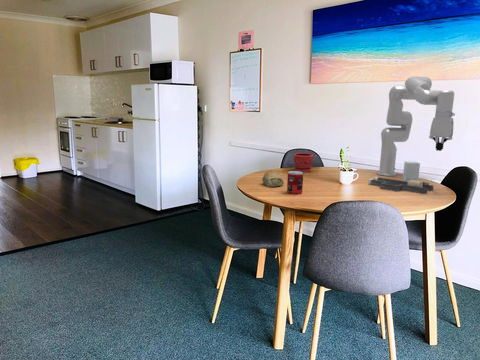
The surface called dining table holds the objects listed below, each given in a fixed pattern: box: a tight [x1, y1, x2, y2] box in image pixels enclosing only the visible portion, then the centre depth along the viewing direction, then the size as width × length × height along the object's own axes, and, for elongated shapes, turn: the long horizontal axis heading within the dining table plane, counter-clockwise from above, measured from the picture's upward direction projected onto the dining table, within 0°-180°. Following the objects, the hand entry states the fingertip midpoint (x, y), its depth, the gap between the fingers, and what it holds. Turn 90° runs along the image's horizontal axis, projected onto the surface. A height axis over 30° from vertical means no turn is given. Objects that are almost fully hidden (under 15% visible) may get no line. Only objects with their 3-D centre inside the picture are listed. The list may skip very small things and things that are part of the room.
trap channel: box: [368, 176, 434, 195], centre depth 213 cm, size 22×32×3 cm
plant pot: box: [293, 152, 314, 173], centre depth 259 cm, size 13×13×12 cm
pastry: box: [262, 170, 285, 188], centre depth 214 cm, size 14×12×8 cm
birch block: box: [407, 180, 424, 187], centre depth 207 cm, size 6×6×5 cm
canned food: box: [286, 170, 304, 195], centre depth 195 cm, size 8×8×11 cm
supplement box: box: [402, 160, 421, 182], centre depth 226 cm, size 7×7×13 cm
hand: (438, 150), depth 196 cm, fingers closed
